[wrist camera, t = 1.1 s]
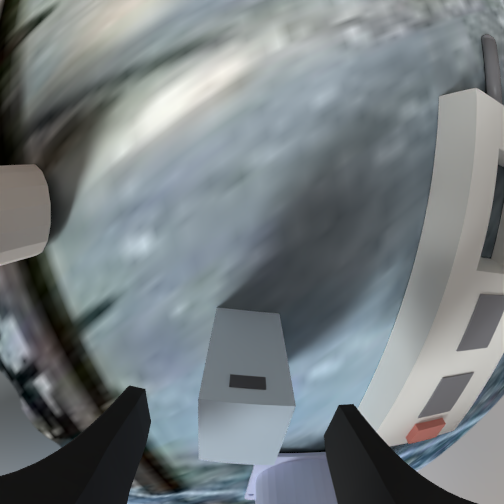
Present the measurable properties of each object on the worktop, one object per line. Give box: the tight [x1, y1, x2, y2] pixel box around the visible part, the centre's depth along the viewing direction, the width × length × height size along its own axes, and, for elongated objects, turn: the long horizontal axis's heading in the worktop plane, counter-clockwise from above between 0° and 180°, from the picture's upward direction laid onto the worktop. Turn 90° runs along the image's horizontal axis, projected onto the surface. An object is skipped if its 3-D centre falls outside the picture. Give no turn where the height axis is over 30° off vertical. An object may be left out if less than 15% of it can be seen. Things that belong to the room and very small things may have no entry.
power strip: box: [358, 34, 504, 447], centre depth 11 cm, size 26×8×4 cm, turn 173°
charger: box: [198, 307, 296, 465], centre depth 11 cm, size 4×3×6 cm
